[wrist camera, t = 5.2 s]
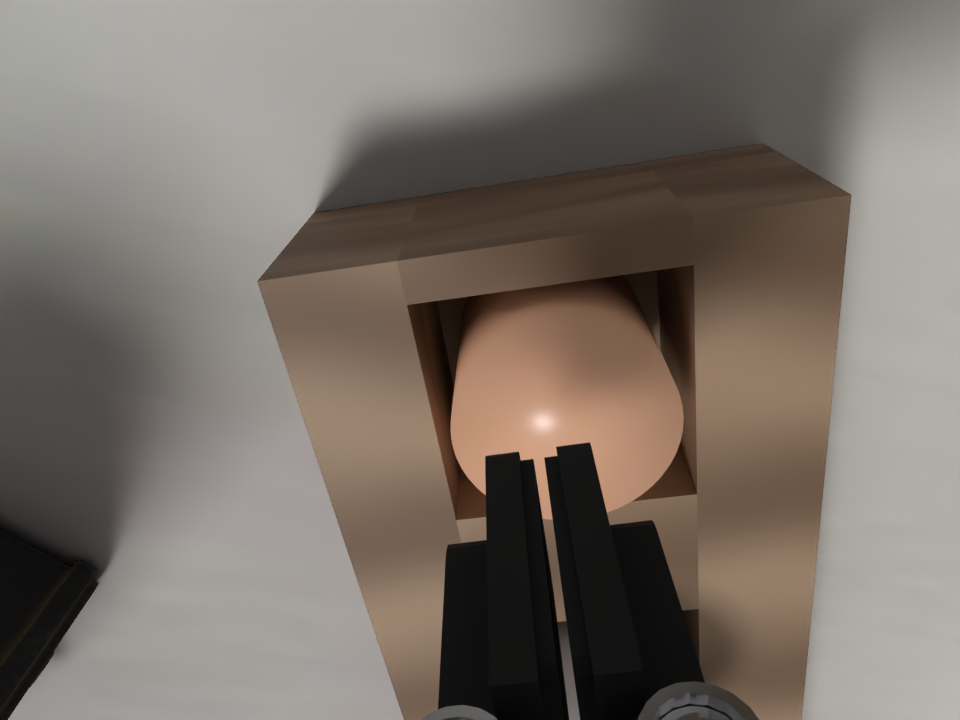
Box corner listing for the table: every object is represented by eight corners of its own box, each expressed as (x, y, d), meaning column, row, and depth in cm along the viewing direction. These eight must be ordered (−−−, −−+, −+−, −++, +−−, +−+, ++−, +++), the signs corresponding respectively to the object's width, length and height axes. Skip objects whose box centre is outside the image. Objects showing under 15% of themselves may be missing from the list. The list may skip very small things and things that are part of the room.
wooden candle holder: (313, 213, 19) (257, 280, 14) (763, 143, 18) (851, 194, 13) (477, 798, 32) (473, 928, 27) (742, 780, 31) (782, 913, 26)
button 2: (446, 259, 18) (430, 344, 14) (636, 231, 18) (681, 310, 13) (477, 415, 21) (471, 530, 16) (645, 394, 20) (686, 507, 16)
